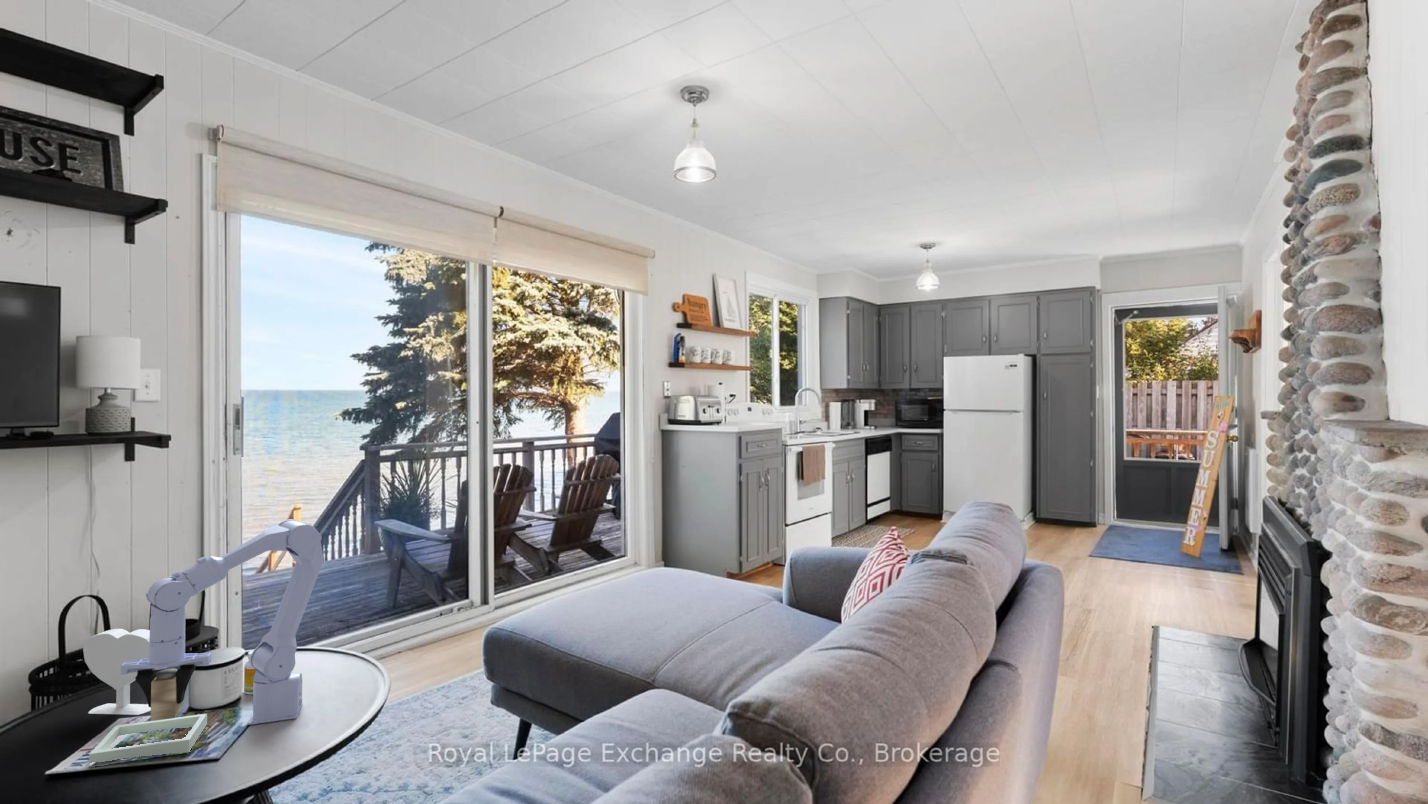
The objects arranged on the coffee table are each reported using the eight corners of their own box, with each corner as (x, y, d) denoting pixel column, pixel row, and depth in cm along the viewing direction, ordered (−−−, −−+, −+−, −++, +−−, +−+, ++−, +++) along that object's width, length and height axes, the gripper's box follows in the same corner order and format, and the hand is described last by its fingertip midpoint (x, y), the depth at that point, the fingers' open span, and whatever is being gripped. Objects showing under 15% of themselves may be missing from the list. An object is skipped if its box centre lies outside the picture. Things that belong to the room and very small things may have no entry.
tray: (206, 725, 149) (207, 713, 149) (189, 752, 138) (189, 739, 138) (115, 738, 143) (115, 725, 143) (88, 768, 132) (89, 753, 132)
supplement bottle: (256, 696, 164) (257, 656, 164) (238, 693, 165) (238, 654, 165) (275, 686, 169) (276, 648, 169) (257, 684, 170) (258, 646, 170)
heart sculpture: (165, 704, 158) (166, 628, 158) (147, 714, 153) (148, 635, 153) (99, 702, 158) (100, 626, 158) (79, 713, 153) (80, 634, 153)
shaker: (181, 709, 142) (182, 666, 142) (175, 717, 138) (175, 674, 138) (157, 712, 140) (158, 669, 140) (150, 721, 137) (151, 676, 137)
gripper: (114, 648, 133) (113, 717, 133) (204, 639, 138) (203, 705, 139) (129, 636, 139) (128, 702, 139) (214, 628, 145) (213, 691, 145)
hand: (166, 703), depth 139 cm, fingers closed on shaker, 4 cm apart
